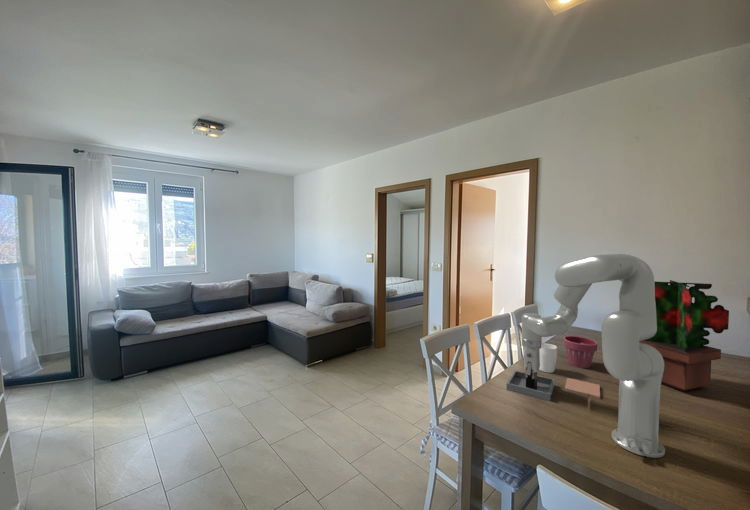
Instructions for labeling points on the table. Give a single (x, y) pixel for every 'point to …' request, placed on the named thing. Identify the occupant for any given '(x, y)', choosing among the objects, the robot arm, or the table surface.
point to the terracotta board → (583, 387)
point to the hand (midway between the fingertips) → (531, 384)
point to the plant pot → (580, 350)
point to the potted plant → (686, 333)
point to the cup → (548, 357)
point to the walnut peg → (535, 380)
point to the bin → (519, 385)
